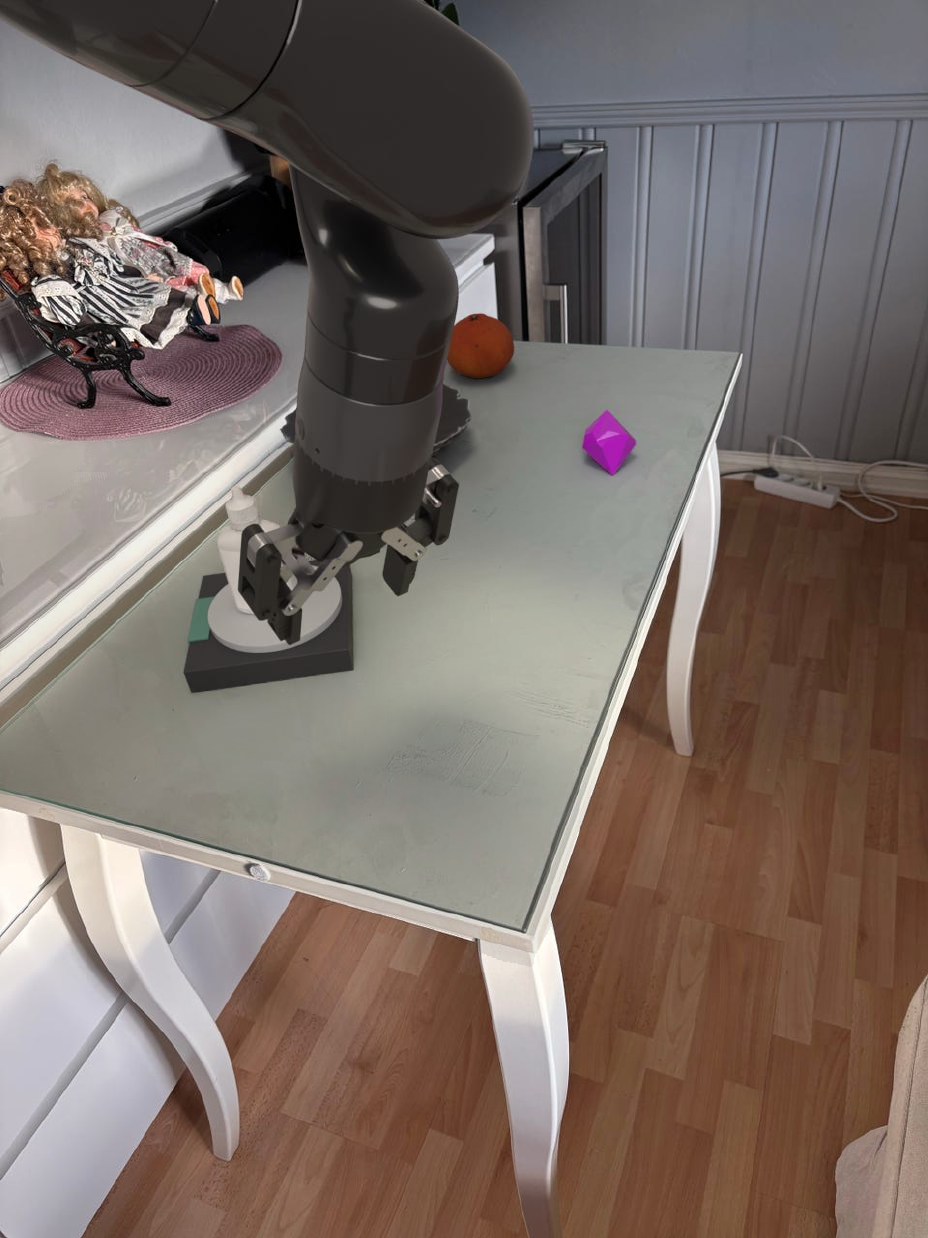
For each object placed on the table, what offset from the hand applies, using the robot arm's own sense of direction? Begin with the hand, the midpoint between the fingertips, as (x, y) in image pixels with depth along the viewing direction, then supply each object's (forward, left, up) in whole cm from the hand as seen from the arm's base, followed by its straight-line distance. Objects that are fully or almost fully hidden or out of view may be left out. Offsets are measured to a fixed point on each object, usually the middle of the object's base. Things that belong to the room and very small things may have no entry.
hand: (342, 609), depth 62 cm
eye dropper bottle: (-9, +17, -11) cm, 22 cm away
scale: (-9, +17, -14) cm, 24 cm away
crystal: (+27, +39, -14) cm, 50 cm away
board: (+2, +48, -14) cm, 50 cm away
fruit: (+16, +66, -14) cm, 69 cm away
